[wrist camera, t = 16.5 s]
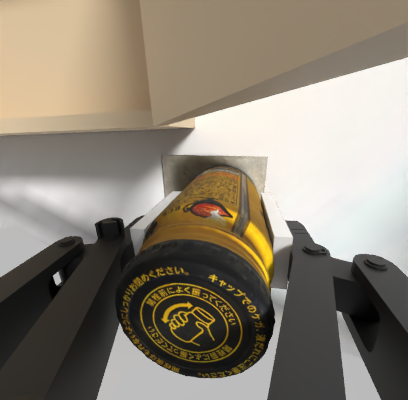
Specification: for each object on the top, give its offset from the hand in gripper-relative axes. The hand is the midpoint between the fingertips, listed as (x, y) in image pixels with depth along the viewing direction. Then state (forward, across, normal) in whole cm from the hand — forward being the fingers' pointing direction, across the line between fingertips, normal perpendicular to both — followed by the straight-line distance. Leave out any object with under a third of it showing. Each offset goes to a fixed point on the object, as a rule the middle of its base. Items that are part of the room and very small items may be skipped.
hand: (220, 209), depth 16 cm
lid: (-15, -3, -13) cm, 20 cm away
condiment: (+2, +1, 0) cm, 2 cm away
